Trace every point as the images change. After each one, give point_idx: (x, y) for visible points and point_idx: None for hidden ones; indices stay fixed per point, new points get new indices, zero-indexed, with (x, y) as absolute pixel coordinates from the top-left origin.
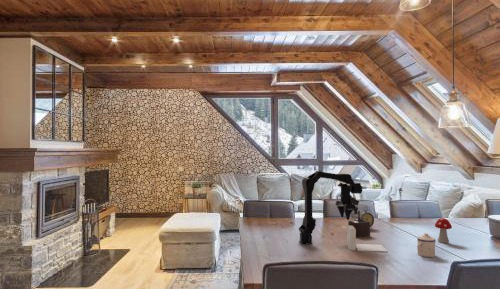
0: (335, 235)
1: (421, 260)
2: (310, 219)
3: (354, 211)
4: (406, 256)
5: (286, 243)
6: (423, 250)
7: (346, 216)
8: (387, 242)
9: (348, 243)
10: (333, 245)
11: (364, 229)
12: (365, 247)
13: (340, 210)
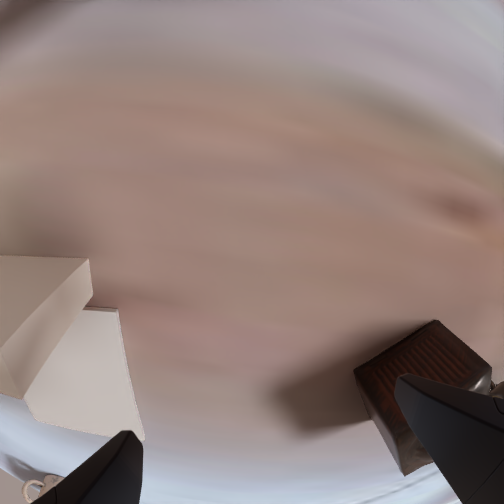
0: (421, 223)
1: (2, 449)
2: None
3: None
4: (17, 440)
5: None
6: (41, 489)
7: (77, 467)
8: (228, 467)
9: (32, 266)
10: (74, 146)
11: (381, 429)
12: (49, 356)
13: (483, 448)
